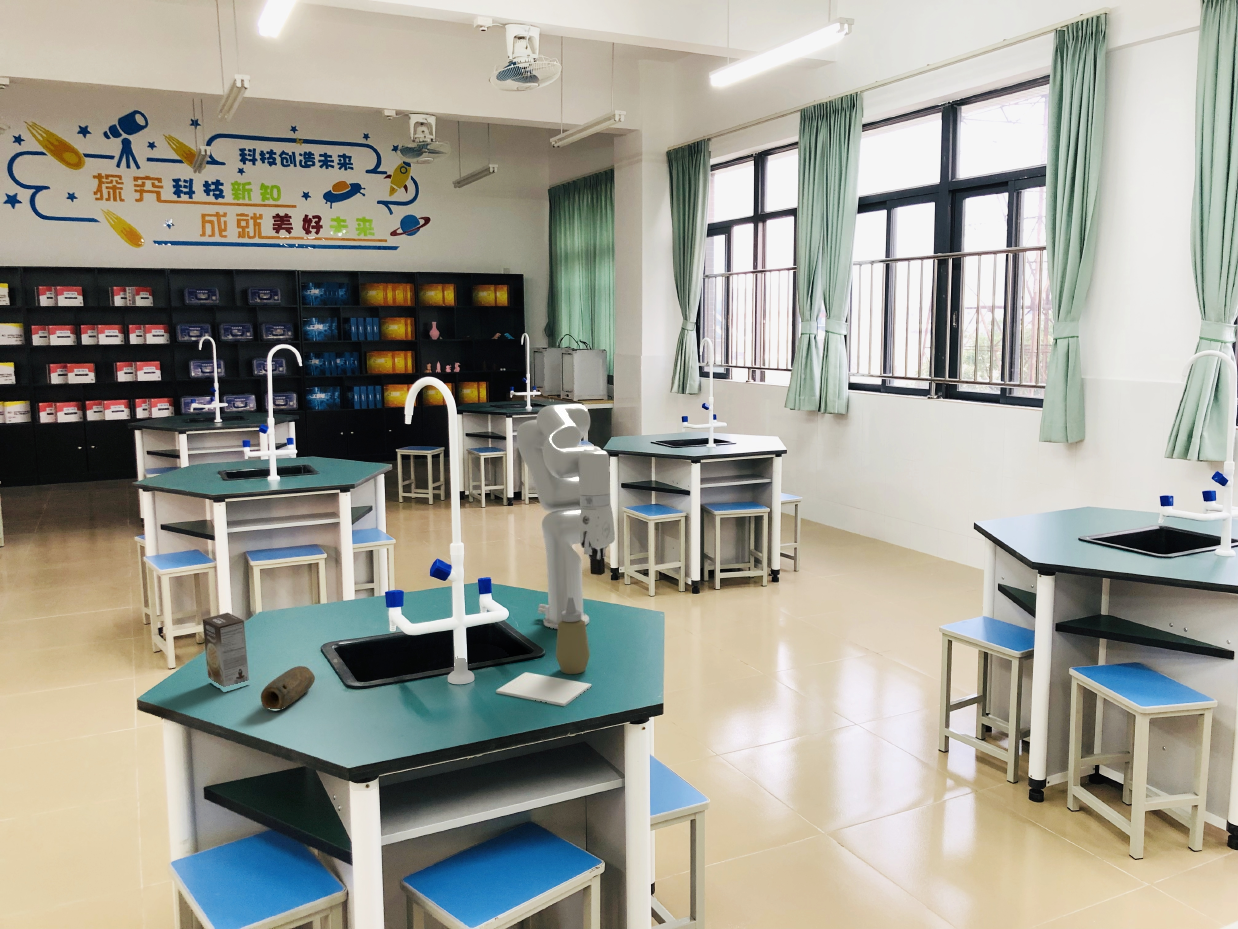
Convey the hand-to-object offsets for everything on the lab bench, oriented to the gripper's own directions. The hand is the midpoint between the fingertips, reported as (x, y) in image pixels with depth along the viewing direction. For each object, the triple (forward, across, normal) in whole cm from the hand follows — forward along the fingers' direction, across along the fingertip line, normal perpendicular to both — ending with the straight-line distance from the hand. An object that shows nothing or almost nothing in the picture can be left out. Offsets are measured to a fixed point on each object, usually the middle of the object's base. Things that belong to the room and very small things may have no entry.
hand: (597, 573), depth 233 cm
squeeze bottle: (+21, -12, +1) cm, 24 cm away
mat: (+21, -25, +1) cm, 33 cm away
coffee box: (+20, -53, +71) cm, 91 cm away
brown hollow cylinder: (+21, -54, +50) cm, 77 cm away
